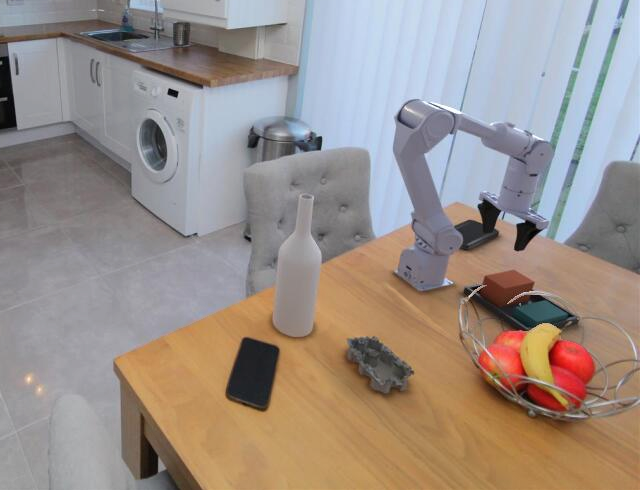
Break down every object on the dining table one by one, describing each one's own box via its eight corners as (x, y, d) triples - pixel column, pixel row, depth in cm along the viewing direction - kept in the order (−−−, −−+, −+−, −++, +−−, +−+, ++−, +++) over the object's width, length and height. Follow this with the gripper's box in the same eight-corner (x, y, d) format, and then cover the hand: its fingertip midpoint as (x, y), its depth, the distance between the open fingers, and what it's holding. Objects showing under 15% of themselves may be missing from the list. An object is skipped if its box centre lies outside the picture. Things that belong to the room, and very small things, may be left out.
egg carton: (413, 391, 84) (418, 373, 83) (373, 396, 83) (377, 379, 82) (377, 346, 94) (380, 329, 93) (341, 350, 93) (343, 334, 92)
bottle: (288, 305, 106) (301, 183, 95) (320, 326, 100) (338, 197, 89) (264, 321, 102) (274, 194, 91) (296, 343, 95) (312, 211, 85)
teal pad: (533, 331, 96) (536, 321, 95) (511, 316, 100) (514, 307, 99) (564, 324, 97) (568, 314, 96) (542, 309, 101) (545, 300, 100)
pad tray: (525, 338, 95) (528, 330, 94) (462, 293, 108) (464, 286, 107) (577, 325, 97) (580, 317, 97) (510, 283, 110) (512, 276, 110)
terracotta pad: (498, 307, 102) (504, 288, 100) (479, 294, 106) (484, 275, 105) (528, 300, 104) (534, 281, 102) (508, 288, 108) (514, 269, 106)
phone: (501, 231, 128) (467, 246, 122) (500, 234, 129) (466, 250, 123) (470, 218, 135) (437, 232, 129) (469, 222, 135) (436, 236, 129)
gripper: (567, 199, 99) (549, 255, 104) (501, 172, 112) (488, 223, 117) (540, 204, 98) (523, 260, 103) (477, 176, 111) (464, 227, 116)
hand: (502, 241), depth 110 cm, fingers open, 7 cm apart
